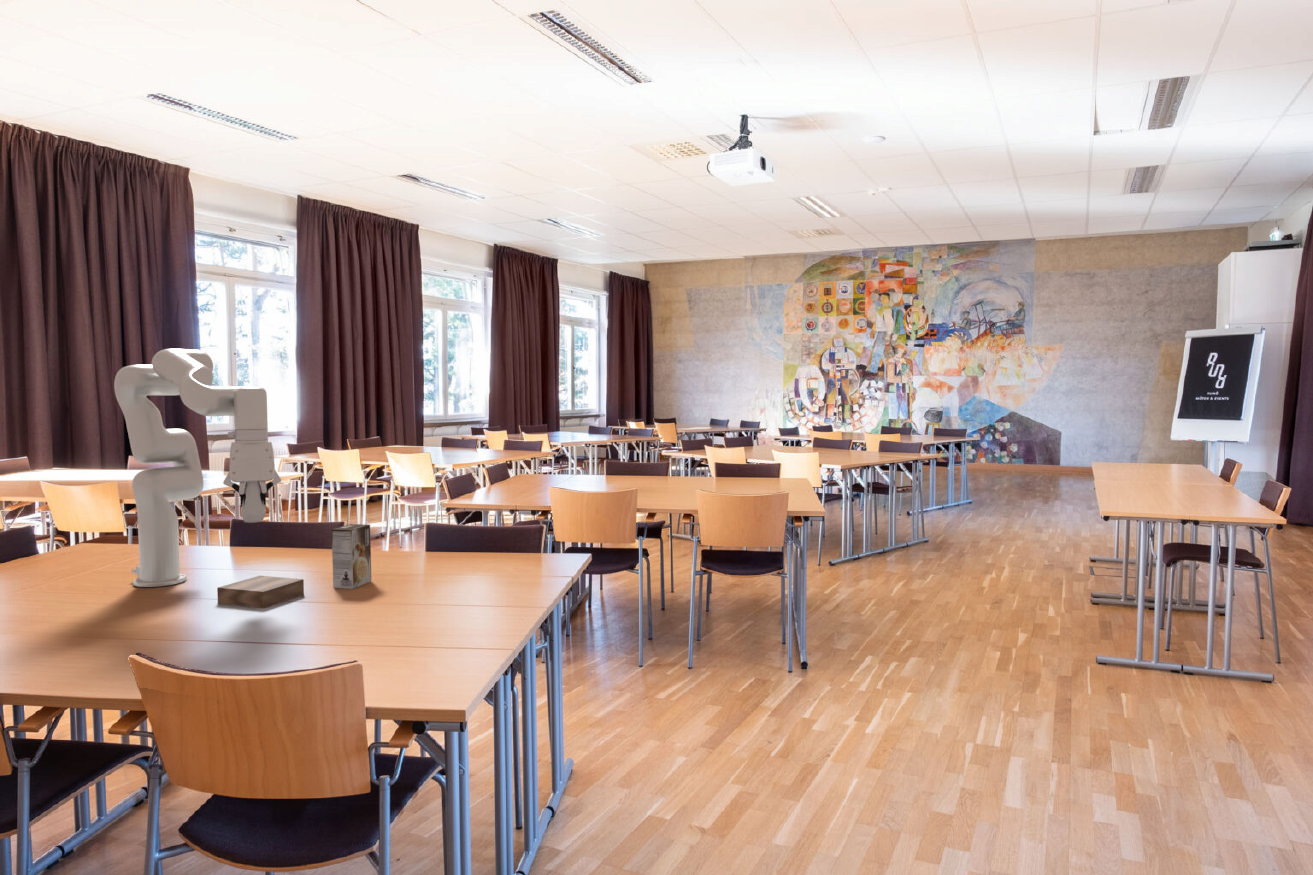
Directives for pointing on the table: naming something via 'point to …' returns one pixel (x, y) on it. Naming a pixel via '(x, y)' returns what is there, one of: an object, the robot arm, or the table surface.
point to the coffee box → (351, 556)
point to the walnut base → (260, 591)
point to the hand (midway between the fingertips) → (253, 508)
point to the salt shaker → (253, 503)
